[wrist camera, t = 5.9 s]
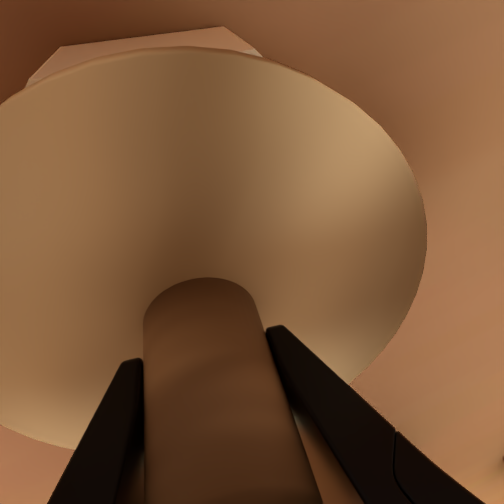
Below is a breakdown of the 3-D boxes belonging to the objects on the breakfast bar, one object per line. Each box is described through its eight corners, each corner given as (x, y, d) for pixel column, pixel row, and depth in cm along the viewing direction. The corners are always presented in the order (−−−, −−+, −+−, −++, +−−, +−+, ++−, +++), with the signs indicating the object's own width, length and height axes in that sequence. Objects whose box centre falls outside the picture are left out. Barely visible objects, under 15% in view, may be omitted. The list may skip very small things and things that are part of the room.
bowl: (327, 12, 12) (396, 29, 9) (320, 284, 18) (356, 350, 15) (-66, 61, 10) (-156, 103, 7) (78, 338, 17) (64, 423, 14)
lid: (455, 7, 8) (860, 59, 3) (382, 381, 15) (480, 549, 10) (-257, 99, 6) (-1242, 425, 2) (49, 468, 13) (6, 707, 9)
